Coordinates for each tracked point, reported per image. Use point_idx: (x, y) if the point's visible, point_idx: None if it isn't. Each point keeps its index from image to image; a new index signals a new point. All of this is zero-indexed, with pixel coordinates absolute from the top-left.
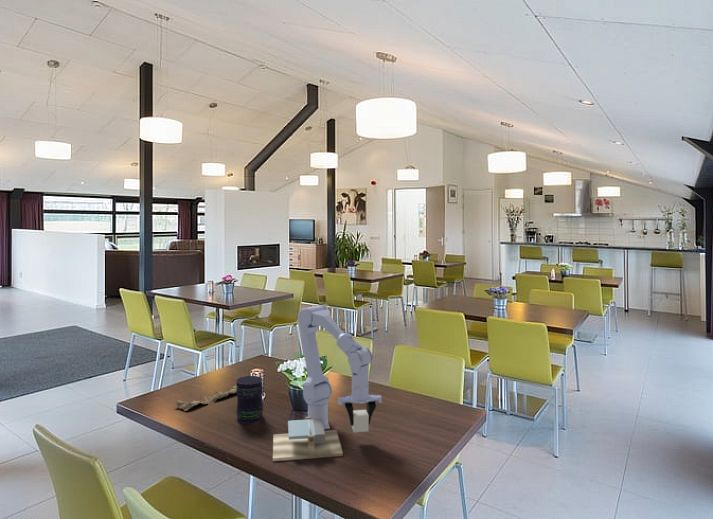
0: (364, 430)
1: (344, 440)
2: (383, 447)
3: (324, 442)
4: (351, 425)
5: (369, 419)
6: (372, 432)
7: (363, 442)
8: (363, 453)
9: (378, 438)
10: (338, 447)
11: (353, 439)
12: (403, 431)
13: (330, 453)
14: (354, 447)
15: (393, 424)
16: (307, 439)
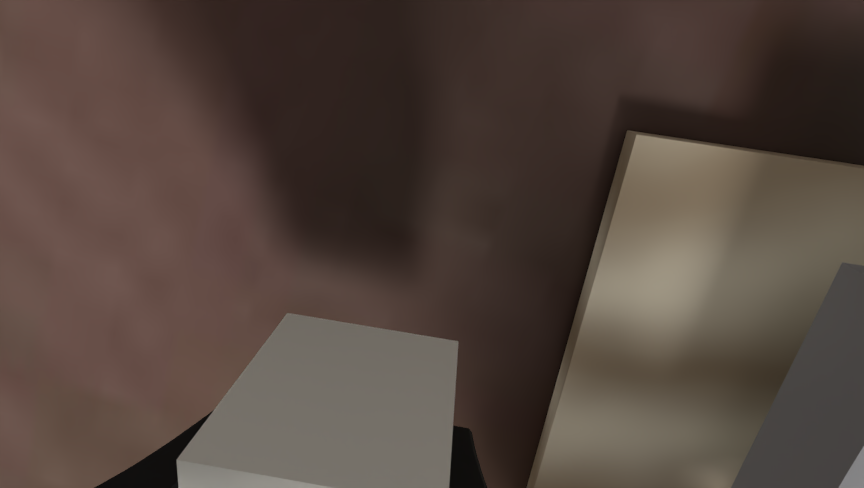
0: (329, 329)
1: (503, 385)
2: (213, 170)
3: (854, 266)
4: (467, 429)
5: None
6: None
7: (362, 307)
8: (421, 116)
9: (224, 330)
10: (632, 251)
11: None
12: (11, 369)
13: (763, 160)
14: (464, 250)
15: (75, 482)
16: None
